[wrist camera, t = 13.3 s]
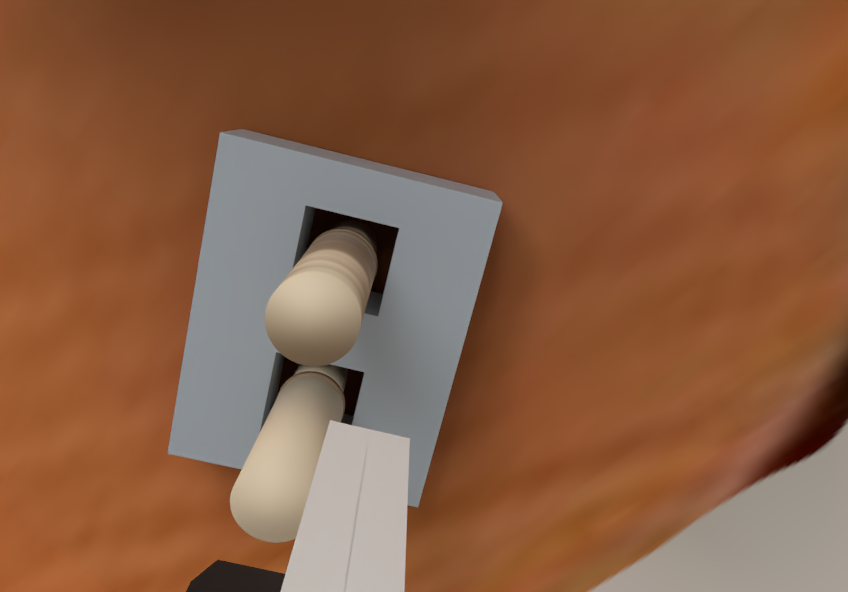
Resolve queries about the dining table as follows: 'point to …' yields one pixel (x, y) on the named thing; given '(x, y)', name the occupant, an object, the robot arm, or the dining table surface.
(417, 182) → the seat board
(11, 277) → the dining table surface
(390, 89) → the dining table surface
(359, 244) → the beech leg
